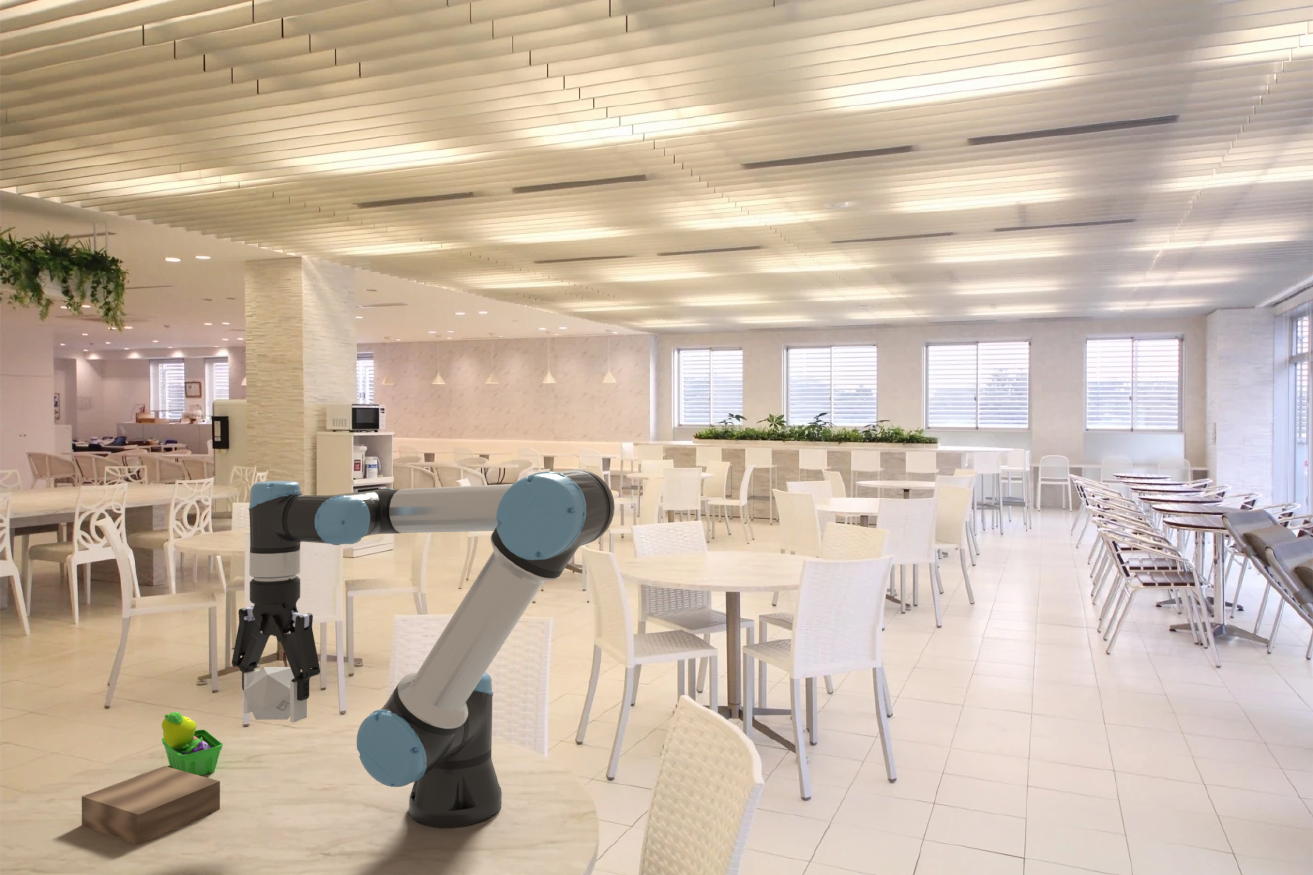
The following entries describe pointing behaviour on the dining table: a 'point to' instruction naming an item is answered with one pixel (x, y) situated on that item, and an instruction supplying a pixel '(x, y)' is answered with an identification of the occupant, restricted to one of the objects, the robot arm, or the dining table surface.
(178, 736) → the fruit basket
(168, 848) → the dining table surface
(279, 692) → the die
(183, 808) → the walnut block
